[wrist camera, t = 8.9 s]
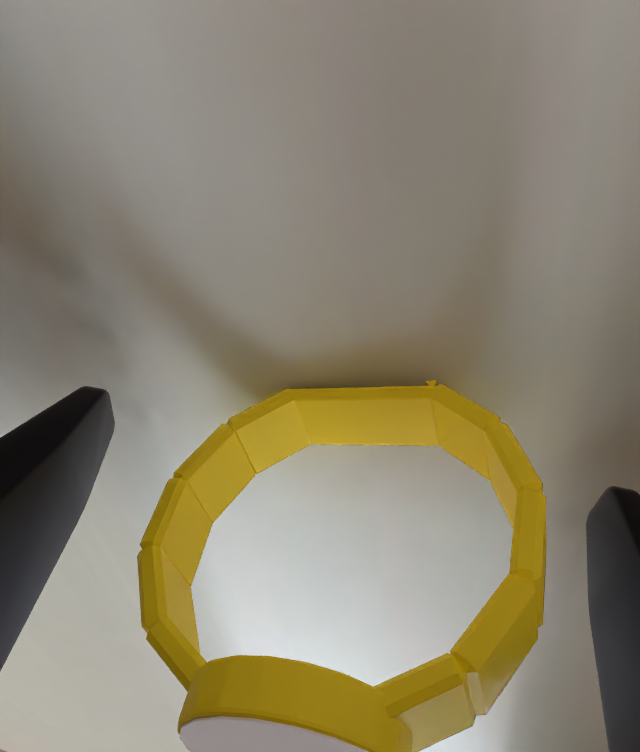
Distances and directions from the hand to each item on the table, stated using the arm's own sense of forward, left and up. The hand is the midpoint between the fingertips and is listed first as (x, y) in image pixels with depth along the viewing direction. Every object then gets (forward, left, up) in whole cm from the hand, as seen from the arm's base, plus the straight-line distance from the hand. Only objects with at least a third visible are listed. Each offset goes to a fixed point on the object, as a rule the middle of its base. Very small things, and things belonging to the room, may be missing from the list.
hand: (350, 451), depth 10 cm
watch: (0, 0, -1) cm, 1 cm away
